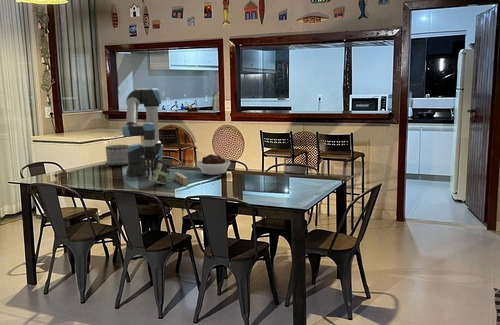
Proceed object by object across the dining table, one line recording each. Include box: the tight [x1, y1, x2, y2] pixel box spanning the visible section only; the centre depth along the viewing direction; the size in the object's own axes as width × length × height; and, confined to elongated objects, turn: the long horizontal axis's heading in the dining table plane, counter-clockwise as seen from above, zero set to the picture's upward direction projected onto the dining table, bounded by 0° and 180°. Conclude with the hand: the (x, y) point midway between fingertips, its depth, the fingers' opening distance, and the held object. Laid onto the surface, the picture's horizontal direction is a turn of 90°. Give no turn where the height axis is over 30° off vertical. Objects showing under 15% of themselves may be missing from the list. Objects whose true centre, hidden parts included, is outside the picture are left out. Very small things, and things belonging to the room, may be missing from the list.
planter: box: [105, 144, 129, 167], centre depth 409 cm, size 19×19×16 cm
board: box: [174, 171, 189, 186], centre depth 338 cm, size 22×3×5 cm, turn 25°
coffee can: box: [152, 160, 173, 185], centre depth 331 cm, size 10×10×14 cm
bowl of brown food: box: [196, 153, 231, 176], centre depth 365 cm, size 25×25×15 cm
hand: (150, 180), depth 328 cm, fingers closed
